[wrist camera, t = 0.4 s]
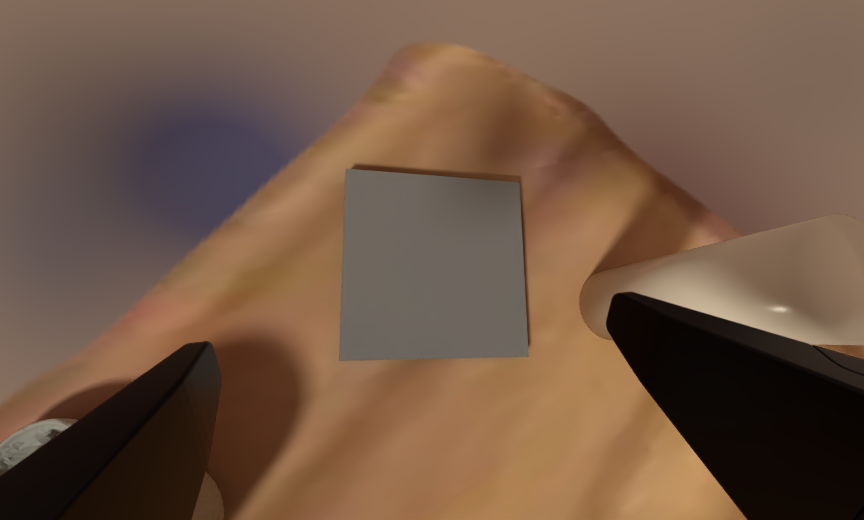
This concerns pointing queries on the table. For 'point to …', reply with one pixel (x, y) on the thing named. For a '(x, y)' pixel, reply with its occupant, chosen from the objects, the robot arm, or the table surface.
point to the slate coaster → (431, 268)
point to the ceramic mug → (39, 433)
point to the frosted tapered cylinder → (756, 282)
